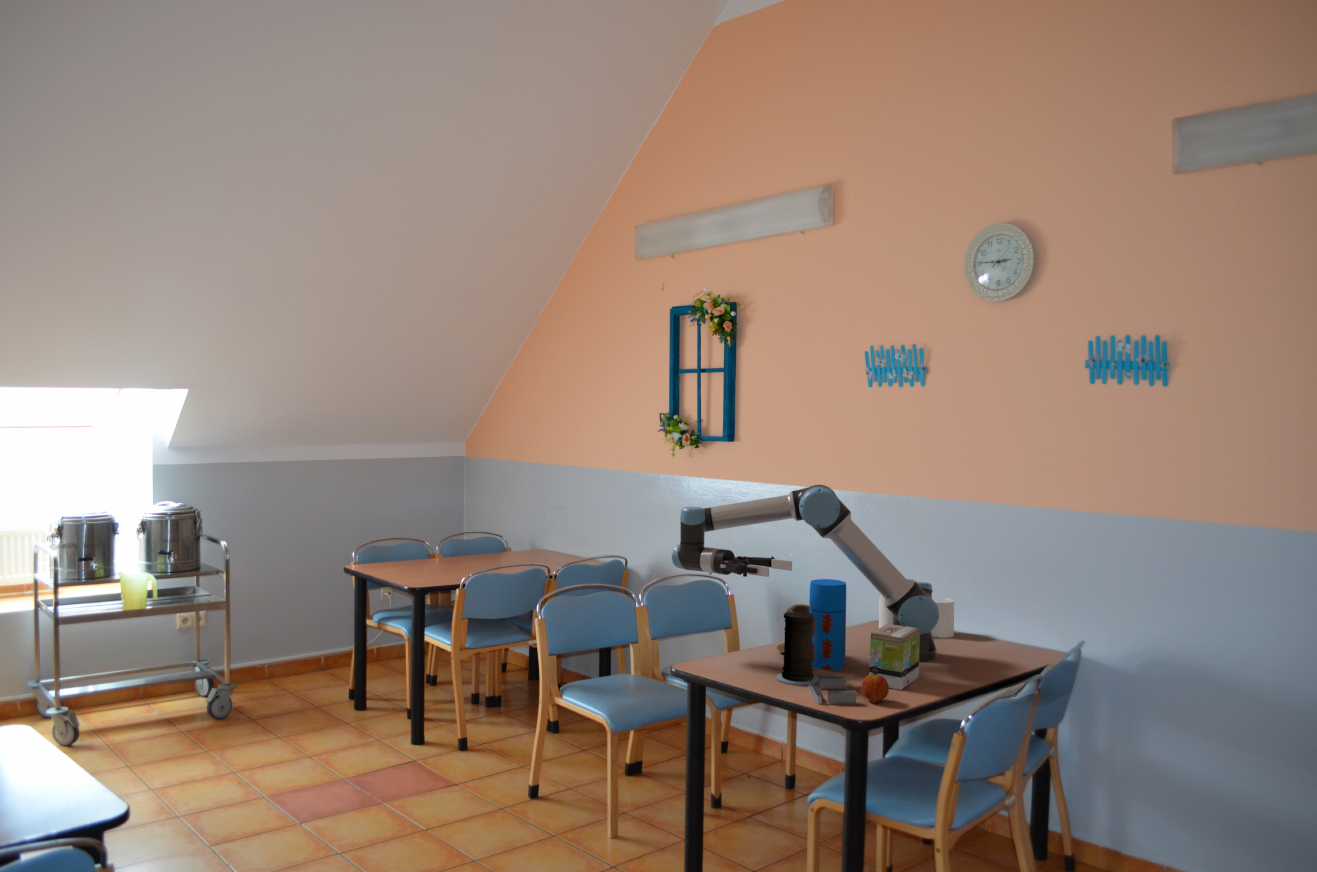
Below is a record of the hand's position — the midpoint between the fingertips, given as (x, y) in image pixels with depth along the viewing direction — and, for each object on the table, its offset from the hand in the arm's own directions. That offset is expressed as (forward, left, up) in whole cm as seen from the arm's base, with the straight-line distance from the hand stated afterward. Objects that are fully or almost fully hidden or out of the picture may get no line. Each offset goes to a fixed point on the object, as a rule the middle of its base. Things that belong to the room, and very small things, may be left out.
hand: (780, 568), depth 276 cm
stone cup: (-10, -22, -30) cm, 39 cm away
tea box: (-31, +9, -30) cm, 45 cm away
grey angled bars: (-11, +23, -30) cm, 39 cm away
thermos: (-15, -7, -30) cm, 35 cm away
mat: (-4, +8, -30) cm, 31 cm away
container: (-4, +8, -30) cm, 31 cm away
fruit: (-21, +28, -30) cm, 46 cm away
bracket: (-54, -49, -30) cm, 79 cm away
